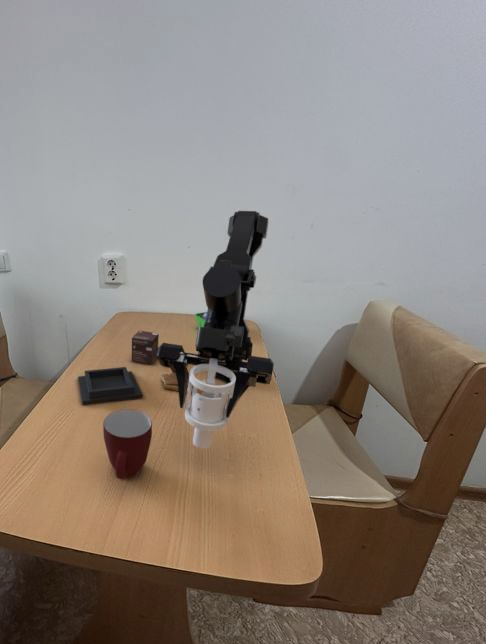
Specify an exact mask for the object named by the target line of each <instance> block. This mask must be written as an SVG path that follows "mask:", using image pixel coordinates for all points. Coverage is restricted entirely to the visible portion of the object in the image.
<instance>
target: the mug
mask: <svg viewBox="0 0 486 644" xmlns="http://www.w3.org/2000/svg"><path fill="white" fill-rule="evenodd" d="M102 425H103V431H102V432H103V433H102V434H103V441H104V444H105V449H106V452H107V457H108V460H109V464H110V465H111V466H112V468H113V469H114V471H115V477H116V478H117V479H119V480H126V478H133V477H135V476H137V475H138V474H139V473H140V471H141V470H142V468H143V467H144V465H145V464H146V462H147V459H148V455H149V451H150V446H151V443H152V442H151V441H152V438H153V437H152V436H153V421H152V419H151V418H150V416H149V415H147V413H144V412H143V411H140V410H137V409H131V408H125V409H119V410H115V411H113V412H111V413H109V414H108V415H107V416H106V417H105V418H104V420H103V424H102Z"/></svg>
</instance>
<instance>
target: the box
mask: <svg viewBox="0 0 486 644" xmlns="http://www.w3.org/2000/svg"><path fill="white" fill-rule="evenodd" d="M159 335H160V334H159V333H157V332H151V331H145V330H138V331H137V332H136V333H134V335H133V336H132V337H131V362H133V363H139V364H144V365H152V364H153V363H154V362H155V361H156V359H158V358H157V357H156V355H157V351H158V347H159V337H160V336H159Z"/></svg>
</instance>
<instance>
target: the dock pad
mask: <svg viewBox="0 0 486 644" xmlns="http://www.w3.org/2000/svg"><path fill="white" fill-rule="evenodd" d="M77 380H78V381H77V382H78V387H79V392H80V398H81V404H82V406H85V405H93V404H102V403H113V402H120V401H121V402H122V401H130V400H137V399H143V392H142V391H141V389H140V386H139V383H138V382H137V380H136V377H135V375H134V373H133V371H132V370H129V371H128V368H127V366H121V367H111V368H109V367H108V368H101V369H100V368H99V369H89V370H84V375H80V376H79V375H78V376H77Z"/></svg>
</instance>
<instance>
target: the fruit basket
mask: <svg viewBox="0 0 486 644" xmlns="http://www.w3.org/2000/svg"><path fill="white" fill-rule="evenodd" d="M206 315H207V311H204V312H198V313H195V314H194V316H195V320H196V324H197V328H198V327H204V324H205V319H206Z"/></svg>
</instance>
